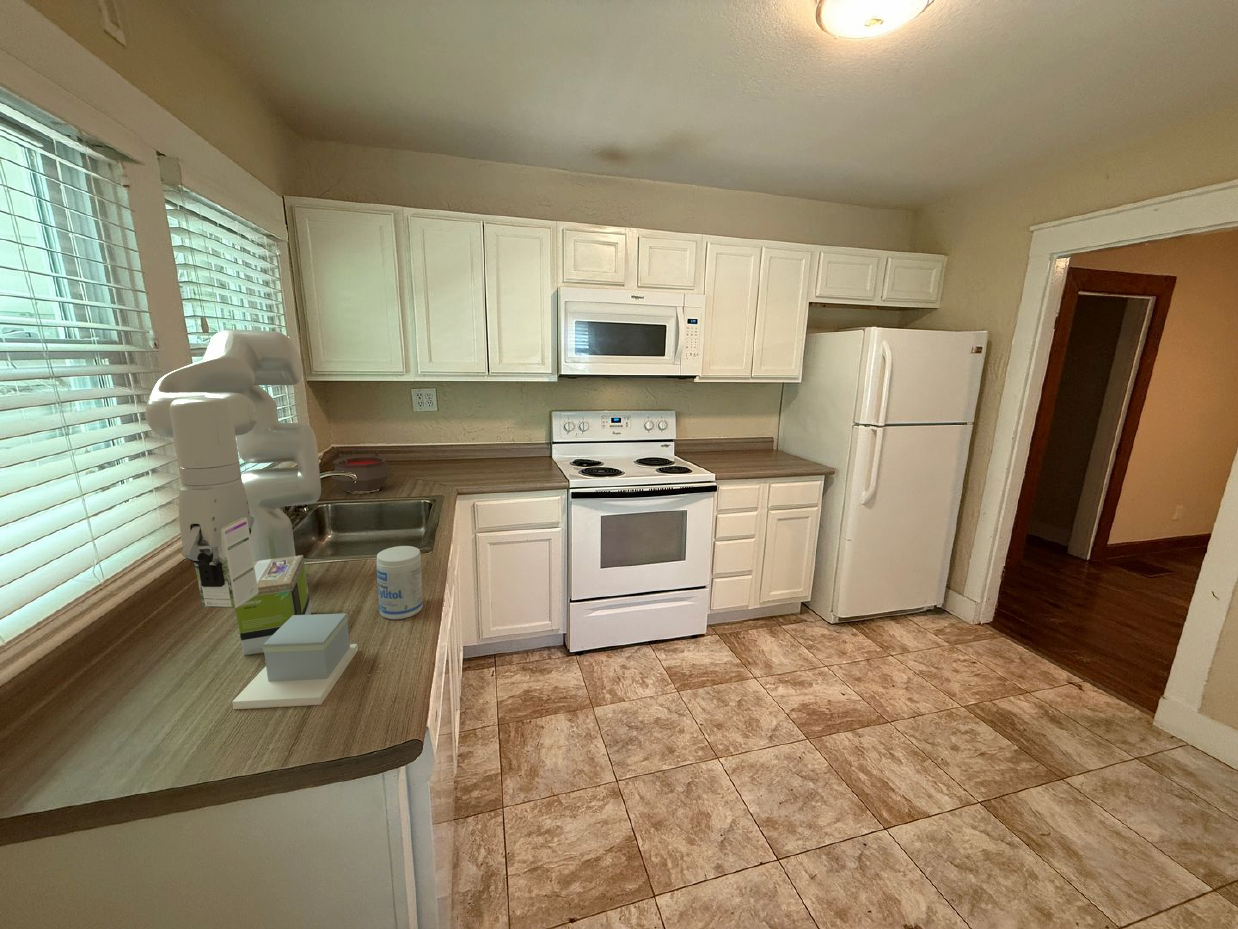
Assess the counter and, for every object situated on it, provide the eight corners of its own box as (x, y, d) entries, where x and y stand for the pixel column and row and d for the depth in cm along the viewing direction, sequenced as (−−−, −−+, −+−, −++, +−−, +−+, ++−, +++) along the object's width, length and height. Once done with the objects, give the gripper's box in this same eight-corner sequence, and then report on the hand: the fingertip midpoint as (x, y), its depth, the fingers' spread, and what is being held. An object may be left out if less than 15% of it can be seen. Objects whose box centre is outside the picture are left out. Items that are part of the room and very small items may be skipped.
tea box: (261, 620, 110) (252, 559, 107) (312, 612, 114) (305, 553, 111) (241, 657, 97) (230, 589, 94) (300, 647, 101) (292, 581, 98)
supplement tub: (372, 621, 111) (367, 561, 108) (390, 600, 121) (385, 544, 117) (415, 621, 112) (411, 561, 109) (429, 601, 121) (426, 545, 118)
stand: (284, 653, 98) (279, 613, 97) (357, 650, 100) (354, 610, 98) (233, 709, 83) (225, 662, 81) (321, 704, 85) (315, 658, 83)
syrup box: (260, 593, 87) (249, 515, 84) (235, 610, 81) (222, 527, 78) (228, 592, 87) (215, 514, 84) (200, 609, 81) (186, 526, 78)
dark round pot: (356, 481, 227) (353, 447, 224) (404, 485, 224) (402, 450, 221) (319, 495, 204) (314, 457, 201) (371, 499, 201) (368, 460, 197)
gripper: (223, 462, 87) (238, 556, 91) (140, 489, 70) (162, 602, 74) (268, 462, 88) (280, 556, 92) (196, 489, 71) (215, 601, 75)
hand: (227, 575), depth 83 cm, fingers closed on syrup box, 6 cm apart
